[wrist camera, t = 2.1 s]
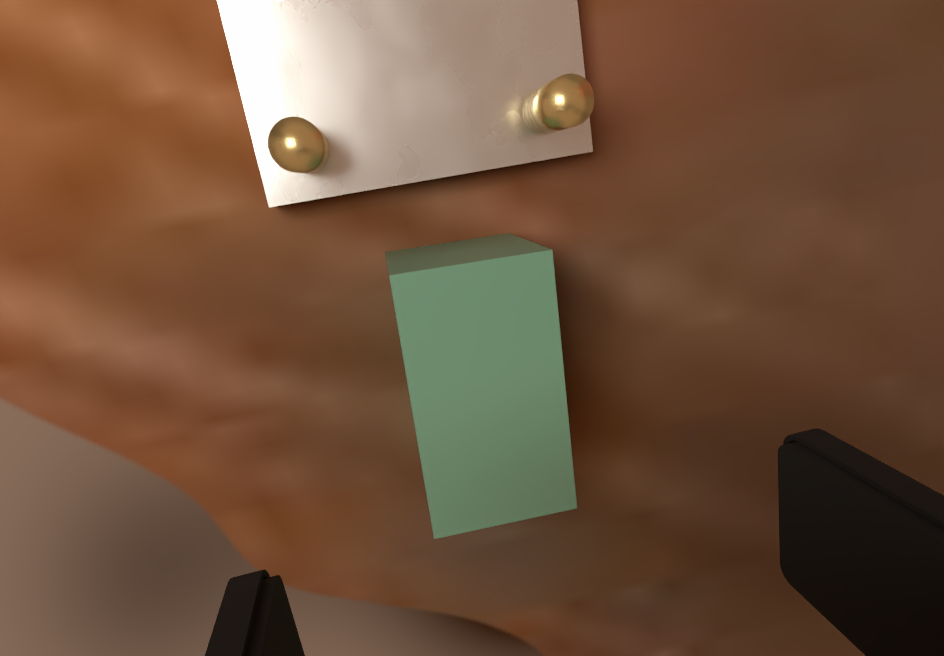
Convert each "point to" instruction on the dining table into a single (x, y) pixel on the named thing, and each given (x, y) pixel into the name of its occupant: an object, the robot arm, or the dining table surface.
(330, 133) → the chassis plate
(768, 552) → the dining table surface
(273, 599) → the robot arm
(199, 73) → the dining table surface
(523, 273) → the block
